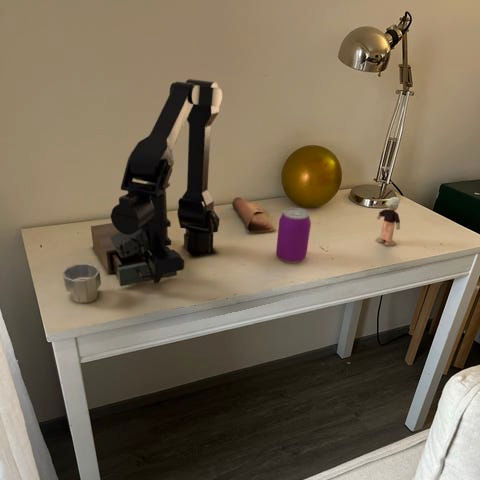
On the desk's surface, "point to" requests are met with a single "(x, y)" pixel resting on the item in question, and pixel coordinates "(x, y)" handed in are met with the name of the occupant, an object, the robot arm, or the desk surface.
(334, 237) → the desk surface
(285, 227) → the beverage can
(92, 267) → the cup
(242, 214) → the sunglasses case
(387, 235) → the grandmother figurine
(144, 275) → the drawer
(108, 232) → the cabinet
